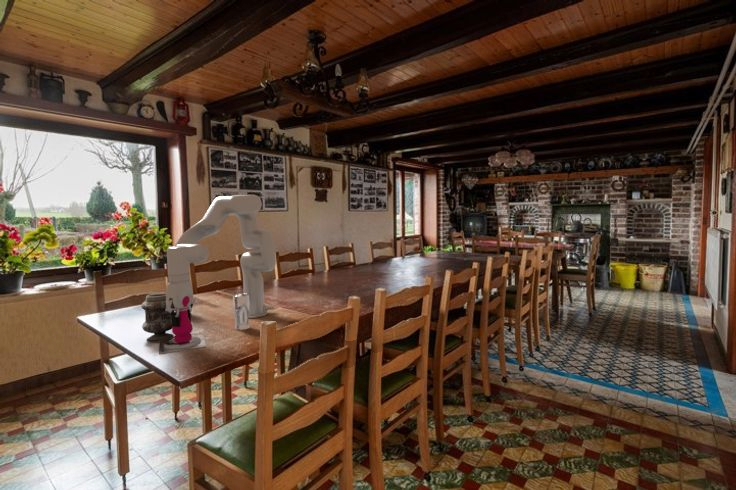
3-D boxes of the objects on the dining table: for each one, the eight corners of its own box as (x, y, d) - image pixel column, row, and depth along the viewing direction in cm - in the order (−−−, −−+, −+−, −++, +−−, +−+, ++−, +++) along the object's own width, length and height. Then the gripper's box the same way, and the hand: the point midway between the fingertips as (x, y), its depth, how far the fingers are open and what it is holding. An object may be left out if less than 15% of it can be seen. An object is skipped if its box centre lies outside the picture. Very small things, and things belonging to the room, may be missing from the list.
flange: (203, 335, 162) (203, 332, 162) (206, 347, 148) (206, 344, 148) (159, 341, 155) (159, 338, 155) (158, 354, 141) (158, 351, 141)
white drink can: (253, 326, 173) (252, 293, 172) (243, 331, 167) (242, 297, 165) (240, 325, 176) (239, 292, 174) (230, 329, 169) (229, 296, 168)
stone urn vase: (178, 332, 165) (175, 291, 164) (174, 340, 154) (172, 295, 153) (146, 336, 161) (143, 293, 160) (140, 344, 150) (137, 298, 149)
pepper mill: (169, 340, 151) (166, 290, 149) (186, 335, 157) (184, 287, 155) (179, 344, 147) (176, 292, 145) (196, 339, 153) (194, 289, 151)
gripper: (186, 274, 158) (188, 317, 160) (154, 282, 142) (157, 330, 144) (202, 274, 157) (204, 318, 158) (171, 282, 140) (174, 331, 142)
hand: (181, 323), depth 151 cm, fingers closed on pepper mill, 5 cm apart
